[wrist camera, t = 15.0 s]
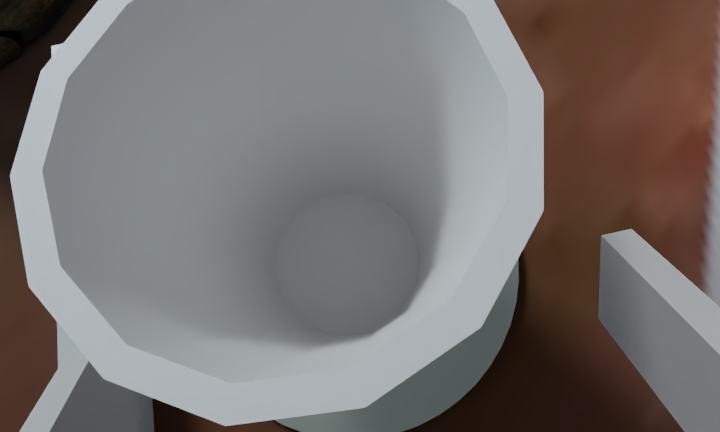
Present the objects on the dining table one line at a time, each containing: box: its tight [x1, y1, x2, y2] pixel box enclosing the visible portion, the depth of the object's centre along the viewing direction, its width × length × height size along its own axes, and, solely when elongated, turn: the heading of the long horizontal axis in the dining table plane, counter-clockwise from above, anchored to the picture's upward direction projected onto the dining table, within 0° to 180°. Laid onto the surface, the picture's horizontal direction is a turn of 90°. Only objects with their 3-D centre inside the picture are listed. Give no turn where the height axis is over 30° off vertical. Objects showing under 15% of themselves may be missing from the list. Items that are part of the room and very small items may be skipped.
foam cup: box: [10, 0, 544, 426], centre depth 15 cm, size 10×9×13 cm
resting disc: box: [275, 260, 519, 432], centre depth 22 cm, size 14×14×1 cm
